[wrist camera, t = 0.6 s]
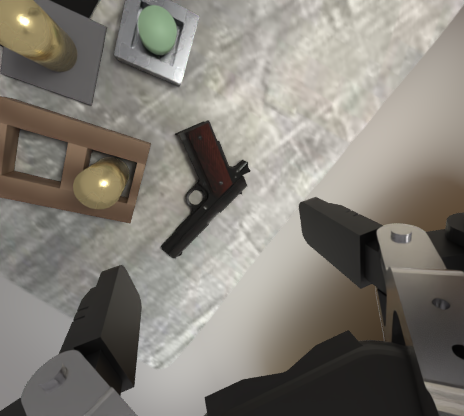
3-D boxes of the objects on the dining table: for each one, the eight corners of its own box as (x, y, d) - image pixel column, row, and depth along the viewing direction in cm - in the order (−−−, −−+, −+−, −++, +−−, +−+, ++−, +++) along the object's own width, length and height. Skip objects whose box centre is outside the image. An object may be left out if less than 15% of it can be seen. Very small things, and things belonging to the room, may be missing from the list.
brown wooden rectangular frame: (12, 98, 25) (-2, 95, 23) (151, 143, 30) (150, 144, 28) (1, 188, 27) (-13, 194, 25) (132, 216, 32) (130, 223, 30)
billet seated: (97, 152, 29) (77, 162, 21) (132, 162, 30) (125, 175, 23) (90, 184, 30) (69, 203, 22) (125, 192, 31) (115, 213, 24)
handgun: (103, 211, 30) (177, 262, 35) (199, 108, 29) (262, 176, 33) (108, 205, 32) (177, 254, 37) (197, 109, 31) (257, 173, 35)
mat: (13, -16, 22) (10, -18, 22) (106, 28, 25) (106, 26, 25) (2, 74, 24) (0, 73, 24) (91, 105, 27) (90, 104, 27)
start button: (144, 6, 24) (143, -3, 22) (179, 25, 25) (181, 17, 23) (135, 45, 25) (133, 39, 23) (170, 61, 26) (171, 56, 24)
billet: (33, 17, 23) (-23, -31, 16) (80, 37, 25) (48, 2, 17) (27, 61, 24) (-28, 34, 17) (73, 78, 25) (40, 60, 18)
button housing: (132, -12, 25) (129, -23, 23) (196, 23, 27) (199, 15, 26) (117, 59, 26) (114, 55, 25) (179, 86, 29) (181, 83, 27)
